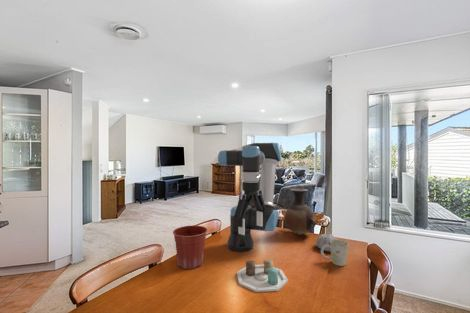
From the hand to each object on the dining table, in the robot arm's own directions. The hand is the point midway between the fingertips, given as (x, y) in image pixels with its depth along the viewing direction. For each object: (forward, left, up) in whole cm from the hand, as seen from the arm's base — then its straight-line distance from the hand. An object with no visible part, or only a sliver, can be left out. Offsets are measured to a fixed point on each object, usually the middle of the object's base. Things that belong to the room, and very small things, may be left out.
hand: (251, 229), depth 102 cm
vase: (-5, +63, -20) cm, 66 cm away
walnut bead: (0, -1, -19) cm, 19 cm away
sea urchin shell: (+17, +52, -20) cm, 58 cm away
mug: (+25, +36, -20) cm, 48 cm away
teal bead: (+11, -1, -19) cm, 22 cm away
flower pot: (-29, -9, -20) cm, 37 cm away
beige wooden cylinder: (+6, +5, -19) cm, 20 cm away
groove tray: (+6, 0, -20) cm, 21 cm away
